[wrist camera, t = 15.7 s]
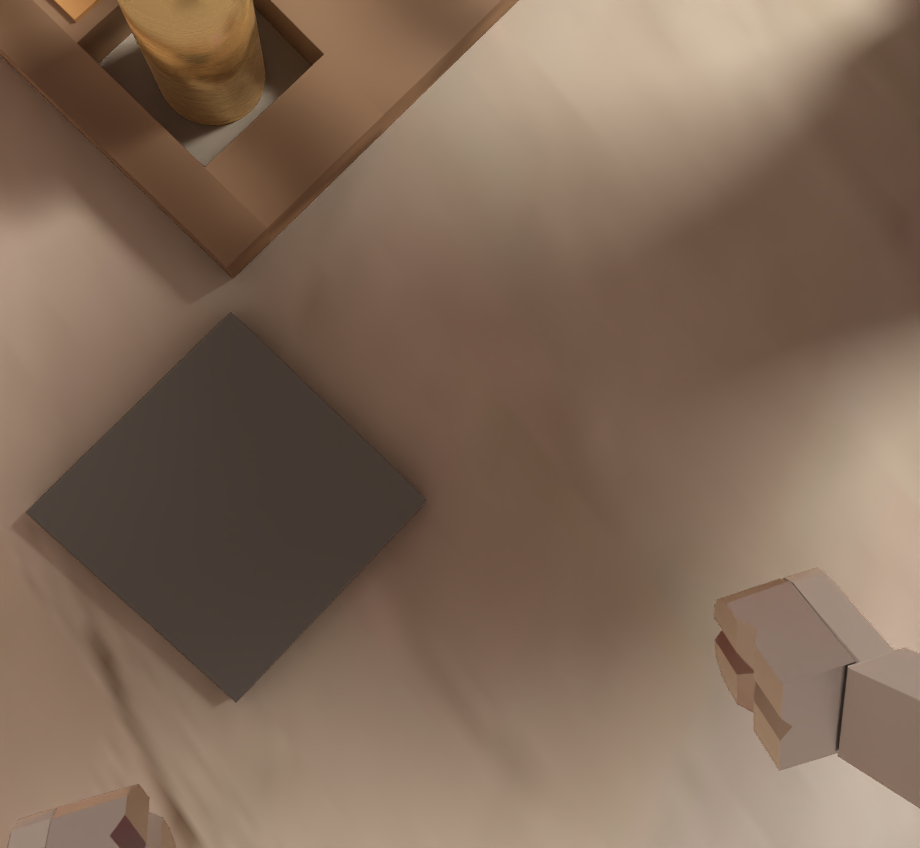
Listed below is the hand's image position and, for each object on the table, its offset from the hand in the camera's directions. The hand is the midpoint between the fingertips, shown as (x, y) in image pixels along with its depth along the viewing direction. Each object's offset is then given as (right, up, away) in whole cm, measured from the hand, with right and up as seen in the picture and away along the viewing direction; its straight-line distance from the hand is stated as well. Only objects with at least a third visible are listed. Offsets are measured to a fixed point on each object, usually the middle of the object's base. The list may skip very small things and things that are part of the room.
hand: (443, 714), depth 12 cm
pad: (-8, +1, +20) cm, 22 cm away
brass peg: (-9, +17, +21) cm, 28 cm away
